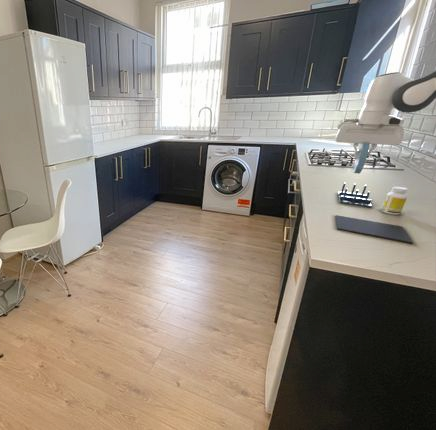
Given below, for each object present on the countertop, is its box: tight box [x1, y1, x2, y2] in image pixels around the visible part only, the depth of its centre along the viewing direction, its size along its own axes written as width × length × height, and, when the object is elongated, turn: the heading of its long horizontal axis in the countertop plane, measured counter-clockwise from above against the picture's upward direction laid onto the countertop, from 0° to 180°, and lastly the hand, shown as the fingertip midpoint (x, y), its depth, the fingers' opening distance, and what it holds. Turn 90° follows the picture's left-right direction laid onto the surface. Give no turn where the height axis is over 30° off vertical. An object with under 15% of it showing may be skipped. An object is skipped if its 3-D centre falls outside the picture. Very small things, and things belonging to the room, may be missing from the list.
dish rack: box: [337, 182, 372, 209], centre depth 119 cm, size 10×16×6 cm, turn 145°
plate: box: [352, 142, 371, 175], centre depth 114 cm, size 2×13×13 cm, turn 145°
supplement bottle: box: [381, 186, 409, 216], centre depth 105 cm, size 5×5×10 cm
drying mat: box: [335, 214, 413, 245], centre depth 93 cm, size 18×14×1 cm
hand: (361, 155), depth 114 cm, fingers closed on plate, 2 cm apart
